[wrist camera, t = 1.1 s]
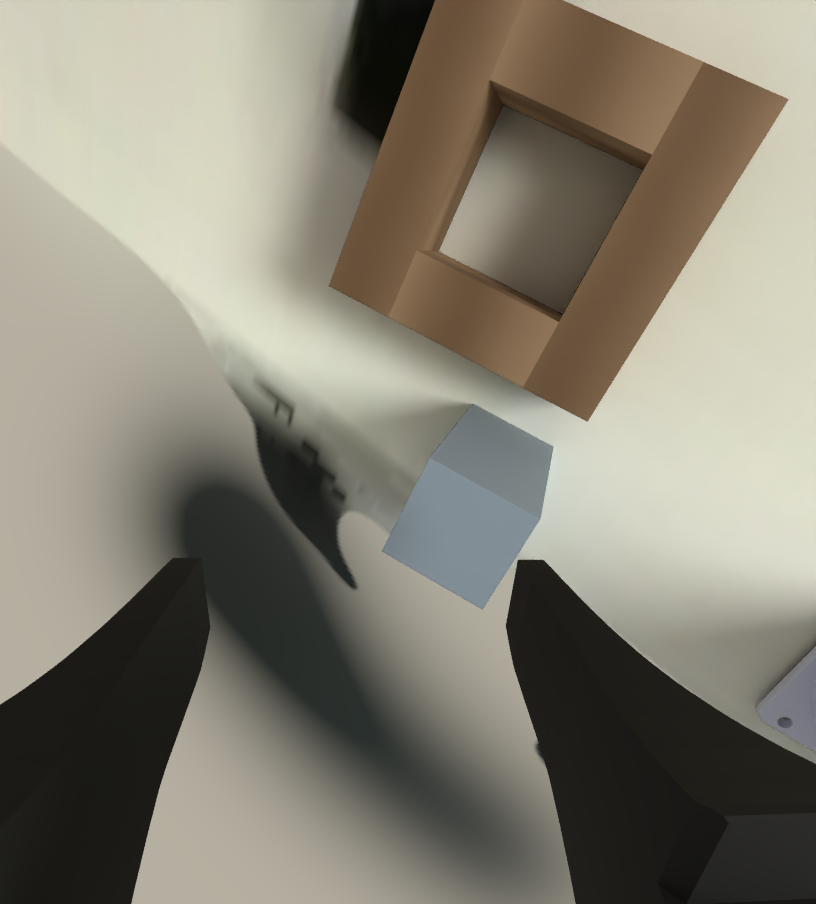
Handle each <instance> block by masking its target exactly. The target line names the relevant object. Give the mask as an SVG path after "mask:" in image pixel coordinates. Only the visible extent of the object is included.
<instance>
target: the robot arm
mask: <svg viewBox="0 0 816 904" xmlns="http://www.w3.org/2000/svg"><path fill="white" fill-rule="evenodd" d="M506 629H507V635H508V640H509V646H510V651H511V655H512V660H513V665H514V669H515V672H516V675H517V678H518V681H519V684H520V687H521V691H522V694H523V697H524V700H525V703H526V706H527V709H528V712H529V715H530V718H531V721H532V724H533V727H534V730H535V733H536V736H537V739H538V742H539V745H540V748H541V751H542V754H543V757H544V761H545V764H546V768H547V771H548V775H549V778H550V782H551V787H552V791H553V796H554V800H555V805H556V809H557V813H558V818H559V823H560V827H561V832H562V836H563V841H564V846H565V851H566V856H567V861H568V865H569V870H570V875H571V881H572V886H573V892H574V897H575V902H576V904H816V764H815V763H813V762H811V761H808V760H806V759H804V758H802V757H800V756H798V755H796V754H794V753H792V752H790V751H788V750H786V749H784V748H782V747H780V746H779V745H777V744H775V743H773V742H771V741H769V740H768V739H766V738H764V737H762V736H761V735H759V734H757V733H755V732H753V731H752V730H750V729H748V728H746V727H745V726H743V725H741V724H740V723H738V722H736V721H735V720H733V719H731V718H730V717H728V716H726V715H725V714H723V713H721V712H720V711H718V710H717V709H715V708H714V707H712V706H711V705H709V704H708V703H706V702H705V701H703V700H702V699H700V698H699V697H697V696H696V695H694V694H693V693H691V692H690V691H688V690H687V689H685V688H684V687H683V686H681V685H680V684H678V683H677V682H675V681H674V680H673V679H672V678H670V677H669V676H668V675H666V674H665V673H664V672H662V671H661V670H660V669H658V668H657V667H656V666H654V665H653V664H652V663H651V662H649V661H648V660H647V659H646V658H644V657H643V656H642V655H641V654H640V653H638V652H637V651H636V650H635V649H634V648H633V647H631V646H630V645H629V644H628V643H627V642H626V641H625V640H623V639H622V638H621V637H620V636H619V635H618V634H617V633H615V632H614V631H613V630H612V629H611V628H610V627H609V626H608V625H607V624H606V623H605V622H604V621H603V620H602V619H601V618H600V617H598V616H597V615H596V614H595V613H594V612H593V611H592V610H591V609H590V608H589V607H588V606H587V605H586V604H585V603H584V602H583V601H582V600H581V599H580V598H579V597H578V595H577V594H576V593H575V592H574V591H573V590H572V589H571V588H570V587H569V586H568V585H567V584H566V583H565V582H564V581H563V580H562V579H561V578H560V577H559V576H558V575H557V573H556V572H555V571H554V570H553V569H552V568H551V567H550V566H549V565H548V564H547V563H546V562H545V561H544V560H518V562H517V568H516V573H515V579H514V584H513V590H512V596H511V601H510V606H509V612H508V617H507V623H506ZM209 630H210V622H209V614H208V606H207V598H206V591H205V583H204V576H203V568H202V559H201V558H173V559H172V560H170V562H168V563H167V564H166V565H165V566H164V567H163V568H162V569H161V570H160V571H159V572H158V573H157V574H156V575H155V576H154V577H153V578H152V579H151V580H150V581H149V582H148V583H147V584H146V585H145V586H144V587H143V588H142V589H141V590H140V591H139V592H138V593H137V594H136V595H135V596H134V597H133V598H132V599H131V600H130V601H129V602H128V603H127V604H126V605H125V606H124V607H123V608H121V609H120V610H119V611H118V612H117V613H116V614H115V615H114V616H113V617H112V618H111V619H110V620H109V621H108V622H107V623H105V625H103V626H102V627H101V628H100V629H99V630H98V631H97V632H95V633H94V634H93V635H92V636H91V637H90V638H88V639H87V640H86V641H85V642H84V643H83V644H82V645H80V646H79V647H78V648H77V649H76V650H74V651H73V652H72V653H71V654H70V655H69V656H67V657H66V658H65V659H64V660H63V661H61V662H60V663H59V664H57V665H56V666H55V667H54V668H52V669H51V670H49V671H48V672H47V673H45V674H44V675H43V676H41V677H40V678H39V679H37V680H36V681H35V682H33V683H32V684H30V685H29V686H28V687H26V688H25V689H23V690H22V691H20V692H19V693H18V694H16V695H15V696H13V697H12V698H10V699H8V700H7V701H5V702H4V703H2V704H1V705H0V904H131V902H132V898H133V893H134V888H135V884H136V880H137V876H138V872H139V868H140V863H141V859H142V855H143V851H144V847H145V842H146V838H147V834H148V830H149V826H150V822H151V818H152V815H153V811H154V807H155V802H156V798H157V795H158V791H159V788H160V784H161V781H162V778H163V775H164V771H165V769H166V765H167V763H168V760H169V757H170V754H171V752H172V749H173V746H174V743H175V741H176V738H177V735H178V732H179V729H180V727H181V724H182V721H183V718H184V716H185V713H186V710H187V707H188V705H189V702H190V699H191V696H192V693H193V691H194V688H195V685H196V682H197V679H198V676H199V673H200V670H201V667H202V662H203V658H204V654H205V649H206V645H207V640H208V635H209ZM757 712H758V715H759V717H760V719H761V720H762V721H763V722H764V723H765V724H767V725H769V726H771V727H772V728H774V729H776V730H778V731H780V732H781V733H783V734H785V735H787V736H788V737H790V738H792V739H794V740H795V741H797V742H799V743H801V744H802V745H804V746H806V747H808V748H810V749H811V750H813V751H815V752H816V646H815V647H814V648H813V649H812V650H811V651H810V652H809V653H808V654H807V655H806V656H805V657H804V658H803V659H802V660H801V661H800V662H799V663H798V664H797V665H796V666H795V667H794V668H793V669H792V670H791V671H790V672H789V673H788V674H787V676H786V677H785V678H784V679H783V680H782V681H781V682H780V683H779V684H778V685H777V686H776V687H775V688H774V689H773V690H772V691H771V692H770V693H769V694H768V695H767V696H766V697H765V698H764V699H763V700H762V701H761V702H760V703H759V704H758V706H757ZM782 717H787V718H789V719H788V720H786V721H780V720H779V719H780V718H782Z"/></svg>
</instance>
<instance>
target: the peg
mask: <svg viewBox="0 0 816 904" xmlns="http://www.w3.org/2000/svg"><path fill="white" fill-rule="evenodd" d="M552 452H553V446H551V445H549V444H548V443H546V442H544V441H542V440H540V439H538V438H536V437H534V436H533V435H531V434H529V433H527V432H525V431H523V430H521V429H519V428H518V427H516V426H514V425H512V424H510V423H508V422H506V421H504V420H503V419H501V418H499V417H497V416H495V415H493V414H491V413H489V412H488V411H486V410H484V409H482V408H480V407H478V406H476V405H474V404H472V405H471V407H470V408H469V409H468V410H467V412H466V413H465V414H464V415H463V417H462V418H461V419H460V420H459V422H458V423H457V424H456V425H455V427H454V428H453V429H452V430H451V432H450V433H449V434H448V435H447V437H446V438H445V439H444V440H443V442H442V443H441V444H440V445H439V447H438V448H437V449H436V450H435V452H434V453H433V454H432V455H431V457H430V458H429V460H428V462H427V464H426V466H425V468H424V469H423V471H422V473H421V475H420V477H419V479H418V481H417V483H416V485H415V487H414V489H413V491H412V493H411V495H410V497H409V499H408V501H407V503H406V505H405V507H404V509H403V511H402V513H401V515H400V516H399V518H398V520H397V522H396V524H395V526H394V528H393V530H392V532H391V534H390V536H389V538H388V540H387V542H386V544H385V546H384V548H383V550H382V552H384V553H386V554H387V555H389V556H391V557H392V558H394V559H396V560H397V561H399V562H401V563H403V564H404V565H406V566H408V567H410V568H411V569H413V570H415V571H417V572H418V573H420V574H422V575H423V576H425V577H427V578H429V579H430V580H432V581H434V582H436V583H437V584H439V585H441V586H443V587H444V588H446V589H448V590H449V591H451V592H453V593H455V594H456V595H458V596H460V597H462V598H463V599H465V600H467V601H469V602H470V603H472V604H474V605H475V606H477V607H479V608H481V609H483V608H484V607H485V605H486V603H487V602H488V600H489V599H490V597H491V596H492V594H493V592H494V591H495V589H496V587H497V586H498V584H499V583H500V581H501V580H502V578H503V577H504V575H505V573H506V572H507V570H508V569H509V567H510V566H511V564H512V562H513V561H514V559H515V558H516V556H517V555H518V553H519V551H520V550H521V548H522V547H523V545H524V544H525V542H526V540H527V539H528V537H529V536H530V534H531V533H532V531H533V529H534V528H535V526H536V525H537V523H538V522H539V520H540V517H541V512H542V506H543V501H544V496H545V490H546V485H547V479H548V474H549V469H550V463H551V458H552Z"/></svg>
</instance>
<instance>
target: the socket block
mask: <svg viewBox="0 0 816 904" xmlns="http://www.w3.org/2000/svg"><path fill="white" fill-rule="evenodd" d="M787 101H788V99H787V98H784V97H782V96H780V95H778V94H775V93H773V92H771V91H769V90H766V89H764V88H762V87H759V86H757V85H755V84H753V83H750V82H748V81H746V80H743V79H741V78H739V77H737V76H734V75H732V74H730V73H727V72H725V71H723V70H721V69H718V68H716V67H714V66H711V65H709V64H707V63H705V62H702V61H700V60H698V59H695V58H693V57H691V56H689V55H686V54H684V53H682V52H679V51H677V50H675V49H673V48H670V47H668V46H666V45H663V44H661V43H659V42H657V41H654V40H652V39H650V38H647V37H645V36H643V35H641V34H638V33H636V32H634V31H631V30H629V29H627V28H625V27H622V26H620V25H618V24H615V23H613V22H611V21H609V20H606V19H604V18H602V17H599V16H597V15H595V14H593V13H590V12H588V11H586V10H583V9H581V8H579V7H577V6H574V5H572V4H570V3H567V2H565V1H563V0H435V2H434V5H433V8H432V10H431V13H430V16H429V18H428V21H427V24H426V27H425V29H424V32H423V35H422V37H421V40H420V43H419V45H418V48H417V51H416V53H415V56H414V59H413V61H412V64H411V67H410V69H409V72H408V75H407V78H406V80H405V83H404V86H403V88H402V91H401V94H400V96H399V99H398V102H397V104H396V107H395V110H394V112H393V115H392V118H391V120H390V123H389V126H388V129H387V131H386V134H385V137H384V139H383V142H382V145H381V147H380V150H379V153H378V155H377V158H376V161H375V163H374V166H373V169H372V171H371V174H370V177H369V180H368V182H367V185H366V188H365V190H364V193H363V196H362V198H361V201H360V204H359V206H358V209H357V212H356V214H355V217H354V220H353V222H352V225H351V228H350V231H349V233H348V236H347V239H346V241H345V244H344V247H343V249H342V252H341V255H340V257H339V260H338V263H337V265H336V268H335V271H334V273H333V276H332V279H331V282H330V284H329V286H330V287H332V288H334V289H335V290H337V291H339V292H341V293H343V294H345V295H347V296H349V297H351V298H353V299H355V300H356V301H358V302H360V303H362V304H364V305H366V306H368V307H370V308H372V309H374V310H376V311H377V312H379V313H381V314H383V315H385V316H387V317H389V318H391V319H393V320H395V321H397V322H398V323H400V324H402V325H404V326H406V327H408V328H410V329H412V330H414V331H416V332H417V333H419V334H421V335H423V336H425V337H427V338H429V339H431V340H433V341H435V342H437V343H438V344H440V345H442V346H444V347H446V348H448V349H450V350H452V351H454V352H456V353H458V354H459V355H461V356H463V357H465V358H467V359H469V360H471V361H473V362H475V363H477V364H478V365H480V366H482V367H484V368H486V369H488V370H490V371H492V372H494V373H496V374H498V375H499V376H501V377H503V378H505V379H507V380H509V381H511V382H513V383H515V384H517V385H519V386H520V387H522V388H524V389H526V390H528V391H530V392H532V393H534V394H536V395H538V396H540V397H541V398H543V399H545V400H547V401H549V402H551V403H553V404H555V405H557V406H559V407H560V408H562V409H564V410H566V411H568V412H570V413H572V414H574V415H576V416H578V417H580V418H581V419H583V420H585V421H587V422H588V420H589V418H590V417H591V415H592V414H593V412H594V410H595V409H596V407H597V406H598V404H599V402H600V401H601V399H602V398H603V396H604V394H605V393H606V391H607V389H608V388H609V386H610V385H611V383H612V381H613V380H614V378H615V377H616V375H617V373H618V372H619V370H620V369H621V367H622V365H623V364H624V362H625V361H626V359H627V357H628V356H629V354H630V353H631V351H632V349H633V348H634V346H635V345H636V343H637V341H638V340H639V338H640V337H641V335H642V333H643V332H644V330H645V329H646V327H647V325H648V324H649V322H650V321H651V319H652V317H653V316H654V314H655V313H656V311H657V309H658V308H659V306H660V305H661V303H662V301H663V300H664V298H665V297H666V295H667V293H668V292H669V290H670V289H671V287H672V285H673V284H674V282H675V280H676V279H677V277H678V276H679V274H680V272H681V271H682V269H683V268H684V266H685V264H686V263H687V261H688V260H689V258H690V256H691V255H692V253H693V252H694V250H695V248H696V247H697V245H698V244H699V242H700V240H701V239H702V237H703V236H704V234H705V232H706V231H707V229H708V228H709V226H710V224H711V223H712V221H713V220H714V218H715V216H716V215H717V213H718V212H719V210H720V208H721V207H722V205H723V204H724V202H725V200H726V199H727V197H728V196H729V194H730V192H731V191H732V189H733V188H734V186H735V184H736V183H737V181H738V180H739V178H740V176H741V175H742V173H743V171H744V170H745V168H746V167H747V165H748V163H749V162H750V160H751V159H752V157H753V155H754V154H755V152H756V151H757V149H758V147H759V146H760V144H761V143H762V141H763V139H764V138H765V136H766V135H767V133H768V131H769V130H770V128H771V127H772V125H773V123H774V122H775V120H776V119H777V117H778V115H779V114H780V112H781V111H782V109H783V107H784V106H785V104H786V103H787ZM503 105H505V106H508V107H510V108H512V109H514V110H516V111H518V112H520V113H523V114H525V115H527V116H529V117H531V118H533V119H535V120H538V121H540V122H542V123H544V124H546V125H548V126H551V127H553V128H555V129H557V130H559V131H561V132H563V133H566V134H568V135H570V136H572V137H574V138H576V139H578V140H581V141H583V142H585V143H587V144H589V145H591V146H593V147H596V148H598V149H600V150H602V151H604V152H606V153H609V154H611V155H613V156H615V157H617V158H619V159H621V160H624V161H626V162H628V163H630V164H632V165H634V166H636V167H639V168H641V169H643V171H642V172H641V174H640V176H639V178H638V180H637V181H636V183H635V185H634V187H633V189H632V190H631V192H630V194H629V196H628V198H627V199H626V201H625V203H624V205H623V207H622V208H621V210H620V212H619V214H618V216H617V217H616V219H615V221H614V223H613V225H612V226H611V228H610V230H609V232H608V234H607V236H606V237H605V239H604V241H603V243H602V245H601V246H600V248H599V250H598V252H597V254H596V255H595V257H594V259H593V261H592V263H591V264H590V266H589V268H588V270H587V272H586V273H585V275H584V277H583V279H582V281H581V282H580V284H579V286H578V288H577V290H576V291H575V293H574V295H573V297H572V299H571V300H570V302H569V304H568V306H567V308H566V309H565V311H564V313H563V314H561V313H559V312H557V311H555V310H553V309H551V308H549V307H547V306H545V305H543V304H541V303H539V302H537V301H536V300H534V299H532V298H530V297H528V296H526V295H524V294H522V293H520V292H518V291H516V290H514V289H512V288H510V287H508V286H506V285H504V284H502V283H500V282H498V281H496V280H494V279H492V278H490V277H488V276H486V275H484V274H482V273H480V272H478V271H476V270H474V269H472V268H470V267H468V266H466V265H464V264H462V263H460V262H458V261H456V260H454V259H452V258H450V257H448V256H446V255H444V254H442V253H440V252H438V251H439V249H440V246H441V244H442V242H443V240H444V237H445V235H446V233H447V230H448V228H449V226H450V224H451V221H452V219H453V217H454V215H455V212H456V210H457V208H458V206H459V203H460V201H461V199H462V197H463V194H464V192H465V190H466V187H467V185H468V183H469V181H470V178H471V176H472V174H473V172H474V169H475V167H476V165H477V163H478V160H479V158H480V156H481V153H482V151H483V149H484V147H485V144H486V142H487V140H488V138H489V135H490V133H491V131H492V129H493V126H494V124H495V122H496V119H497V117H498V115H499V113H500V110H501V108H502V106H503Z"/></svg>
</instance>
